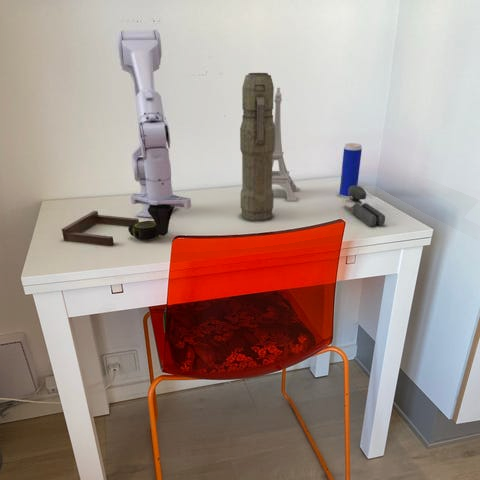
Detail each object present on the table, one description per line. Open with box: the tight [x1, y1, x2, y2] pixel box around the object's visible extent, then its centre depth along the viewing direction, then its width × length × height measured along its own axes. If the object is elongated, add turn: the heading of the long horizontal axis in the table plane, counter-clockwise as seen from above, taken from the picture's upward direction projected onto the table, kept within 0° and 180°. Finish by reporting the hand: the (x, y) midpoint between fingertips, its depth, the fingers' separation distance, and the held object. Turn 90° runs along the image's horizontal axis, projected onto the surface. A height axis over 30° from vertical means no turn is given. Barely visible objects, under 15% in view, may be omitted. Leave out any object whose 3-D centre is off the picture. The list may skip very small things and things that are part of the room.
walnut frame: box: [61, 210, 140, 247], centre depth 119 cm, size 14×13×3 cm
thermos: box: [239, 72, 275, 223], centre depth 120 cm, size 9×12×35 cm
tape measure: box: [127, 220, 161, 241], centre depth 115 cm, size 7×7×4 cm
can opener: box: [340, 185, 386, 228], centre depth 128 cm, size 19×5×6 cm, turn 13°
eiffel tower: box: [272, 87, 298, 202], centre depth 140 cm, size 13×13×30 cm
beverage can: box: [339, 142, 363, 198], centre depth 141 cm, size 5×5×15 cm
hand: (163, 234), depth 115 cm, fingers closed
